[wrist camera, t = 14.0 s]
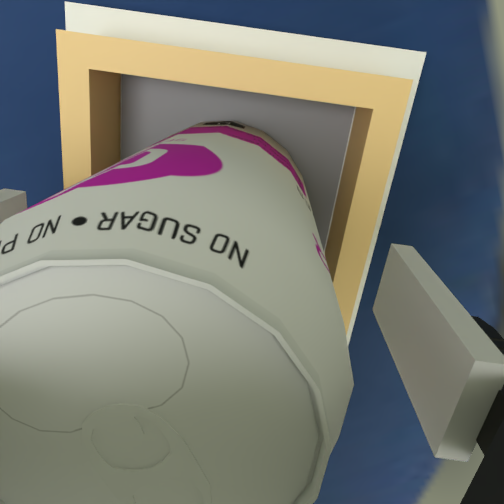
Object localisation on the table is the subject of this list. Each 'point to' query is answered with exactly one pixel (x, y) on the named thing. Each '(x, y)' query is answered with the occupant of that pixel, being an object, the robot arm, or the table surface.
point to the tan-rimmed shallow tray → (245, 110)
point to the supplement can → (171, 332)
